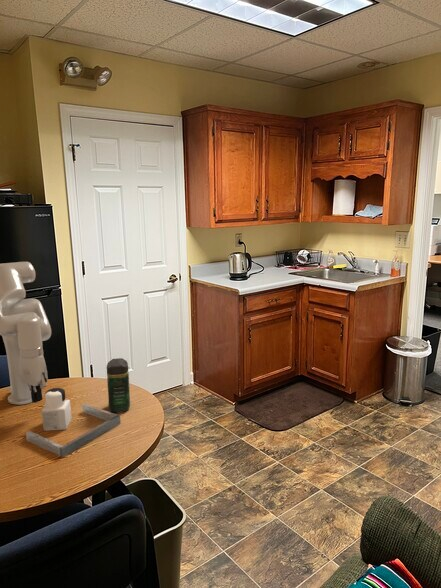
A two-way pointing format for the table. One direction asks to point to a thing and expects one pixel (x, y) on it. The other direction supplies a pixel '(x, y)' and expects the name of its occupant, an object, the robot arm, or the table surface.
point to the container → (56, 410)
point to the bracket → (73, 445)
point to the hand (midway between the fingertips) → (37, 400)
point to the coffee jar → (118, 385)
